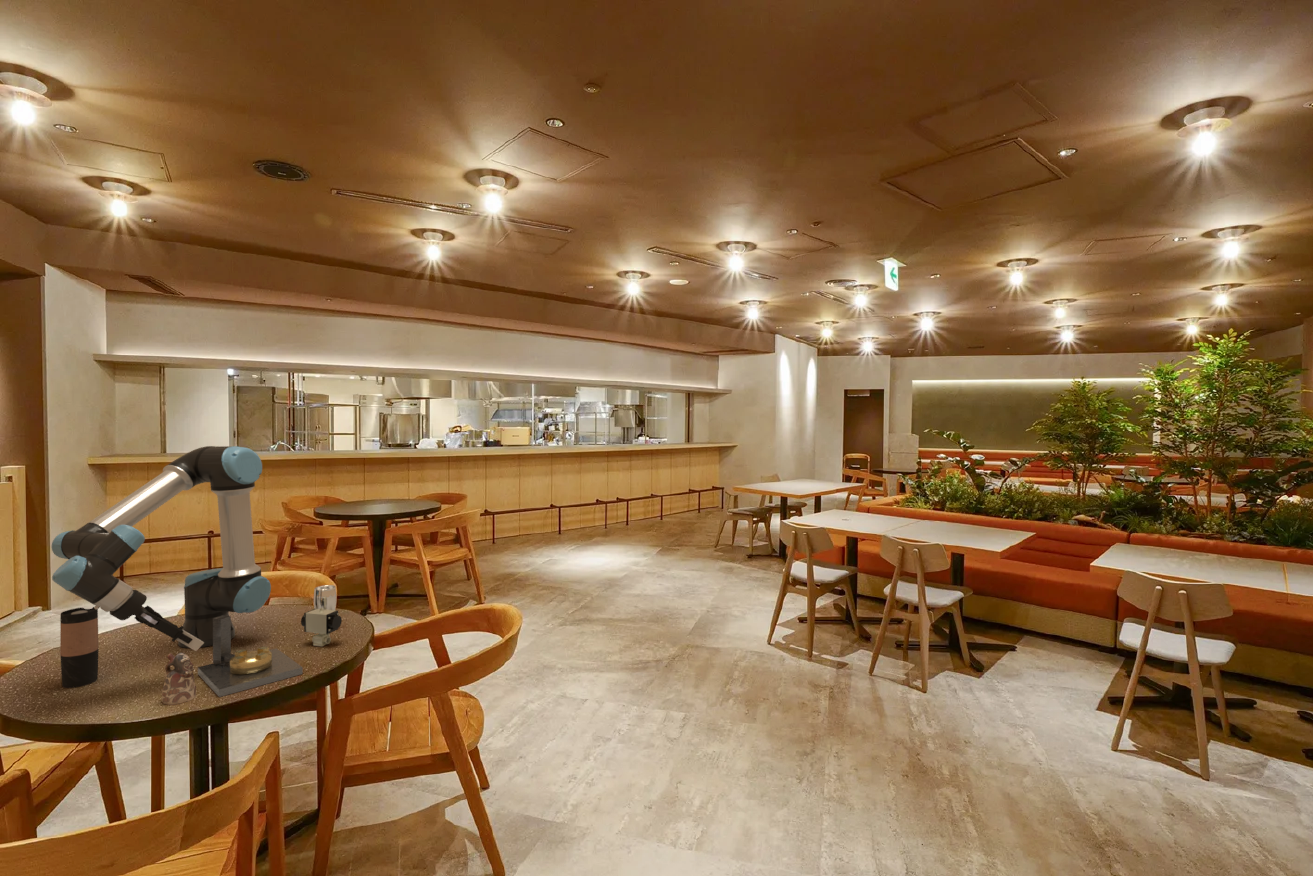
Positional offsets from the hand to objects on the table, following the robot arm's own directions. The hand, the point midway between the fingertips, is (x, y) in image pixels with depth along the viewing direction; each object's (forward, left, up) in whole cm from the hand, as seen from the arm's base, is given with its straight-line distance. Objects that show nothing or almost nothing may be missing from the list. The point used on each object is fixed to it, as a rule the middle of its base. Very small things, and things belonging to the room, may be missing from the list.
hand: (199, 646), depth 172 cm
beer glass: (-15, +39, -9) cm, 43 cm away
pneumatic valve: (-1, +33, -9) cm, 34 cm away
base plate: (+9, +10, -9) cm, 16 cm away
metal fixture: (+7, +8, -6) cm, 12 cm away
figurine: (+13, -7, -9) cm, 18 cm away
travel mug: (-19, -23, -9) cm, 31 cm away
